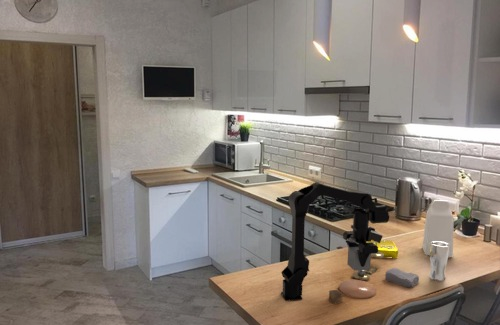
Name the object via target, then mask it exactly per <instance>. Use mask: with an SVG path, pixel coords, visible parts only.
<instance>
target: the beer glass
mask: <svg viewBox="0 0 500 325" xmlns="http://www.w3.org/2000/svg"><path fill="white" fill-rule="evenodd" d="M448 259H449V257H448V244H447V243H444V242H440V241H434V242H431V248H430V256H429V260H430V262H429V263H430V272H429V275H428V276H429V279H430V280H432V281H435V280H436V281H435V282H444V281H445V280H446V275H445V274H446V272H445V271H446V268H447V263H448Z"/></svg>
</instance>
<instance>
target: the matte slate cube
mask: <svg viewBox="0 0 500 325" xmlns="http://www.w3.org/2000/svg"><path fill="white" fill-rule="evenodd" d="M347 248H348V249H347V266H349V267H350V268H351V269H352V270H353V272H354V271H356V272H358V270H370V266H371V262H372V261H371V260H372V259H371V258H372V257H371V254H370V255H369V256H368V258H367V261H366V263H365V266H364V267H361V264H360V261H359V257H358V253H357V250H359V247H348V246H347Z"/></svg>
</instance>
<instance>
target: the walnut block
mask: <svg viewBox="0 0 500 325" xmlns="http://www.w3.org/2000/svg"><path fill="white" fill-rule="evenodd" d="M328 292H329V294H328V300H329V301H330V302H331V304H341V303H343V301H342V300H343V293H342V292H341V291H340V290H339V289H331V290H329V291H328Z"/></svg>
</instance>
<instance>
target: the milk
mask: <svg viewBox="0 0 500 325" xmlns="http://www.w3.org/2000/svg"><path fill="white" fill-rule="evenodd" d="M424 222H425V223H424V229H423V230H424V231H423V239H422V247H423V248H422V250H423V253H424V252H425V253H424V255H425V254H426V255H425V256H428V255H430V248H431V242H434V241H440V242H444V243H447V244H448V258H450V257H454V215H453V212H452V209H451V206H450V203H449V200H447V199H446V200H445V199H434V200H433V202H432V203H431V205H430V206H429V207H428V209H427V211H426V216H425V221H424Z"/></svg>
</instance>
